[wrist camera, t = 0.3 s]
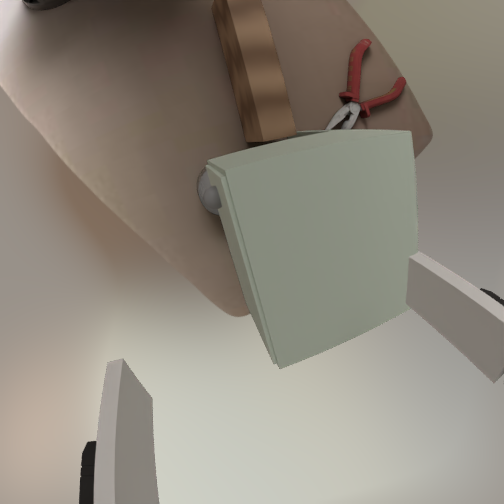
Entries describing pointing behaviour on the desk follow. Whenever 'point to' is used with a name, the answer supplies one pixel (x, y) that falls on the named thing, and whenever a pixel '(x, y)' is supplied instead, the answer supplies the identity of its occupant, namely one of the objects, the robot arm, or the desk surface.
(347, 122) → the pliers
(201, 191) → the silver metal dome
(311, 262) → the green bedside cabinet
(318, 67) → the desk surface
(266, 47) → the brown wooden block
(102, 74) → the desk surface
